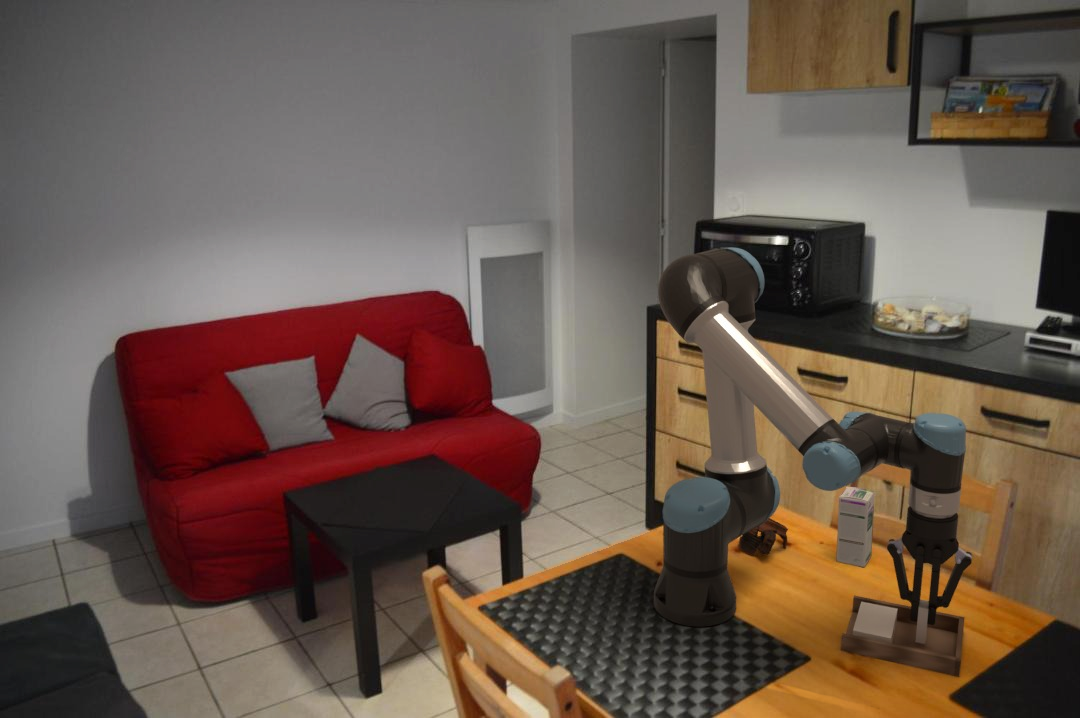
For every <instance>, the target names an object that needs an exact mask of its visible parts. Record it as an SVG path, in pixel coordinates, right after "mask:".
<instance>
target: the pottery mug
mask: <svg viewBox="0 0 1080 718" xmlns="http://www.w3.org/2000/svg"><path fill="white" fill-rule="evenodd" d="M788 530H789V528H787V527H786V525H784V524H782V523H780V522H778V521H776V520H774V519H772V518H771V517H770V518H768V520H767V521H766V522H764V523H763V524H762V525H760V526H758V527H756V528H753V529H751V530H750V531H748V532H746V533H745V534H743V535H742V536H740V537H739V539H738V540H739V541H738V543H739V544H738V545H737V546H738V547H739V549H740V550H741V551H743V552H745V553H746V554H748V555H750V556H751V557H755V556H756V552H757V551H758V553H759V554H761V555H764V556H765V555H769V554H770V553H771V551H772V548H773V546H774V545H775V543H776V541H777V536H779V537H780V538H781V540H782V548H783V547H784V548H783V549H785V548H787V546H788V535H787V532H788ZM758 533H760V535H758Z"/></svg>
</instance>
